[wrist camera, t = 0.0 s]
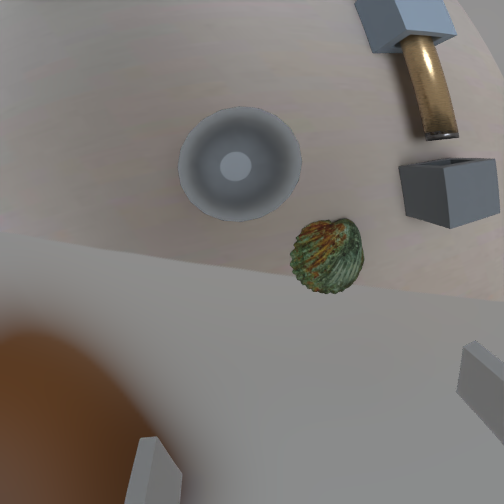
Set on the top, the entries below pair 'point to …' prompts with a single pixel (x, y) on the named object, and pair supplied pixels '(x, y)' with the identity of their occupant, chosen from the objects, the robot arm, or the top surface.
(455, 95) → the top surface
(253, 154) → the chalice
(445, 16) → the blue-grey cube-like block
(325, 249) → the seashell
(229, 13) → the top surface
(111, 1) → the top surface
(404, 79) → the top surface
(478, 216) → the socket
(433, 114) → the slip tube
